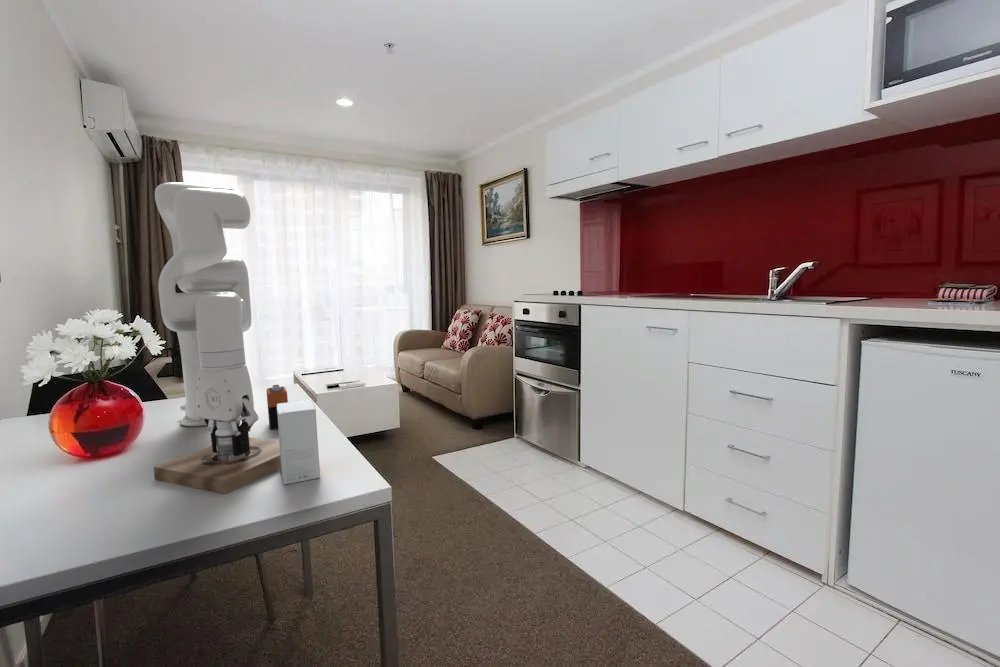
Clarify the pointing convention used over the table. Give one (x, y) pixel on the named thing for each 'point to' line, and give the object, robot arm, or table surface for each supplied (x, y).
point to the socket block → (221, 468)
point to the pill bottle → (225, 442)
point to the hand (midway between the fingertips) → (231, 451)
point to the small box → (298, 441)
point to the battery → (275, 403)
